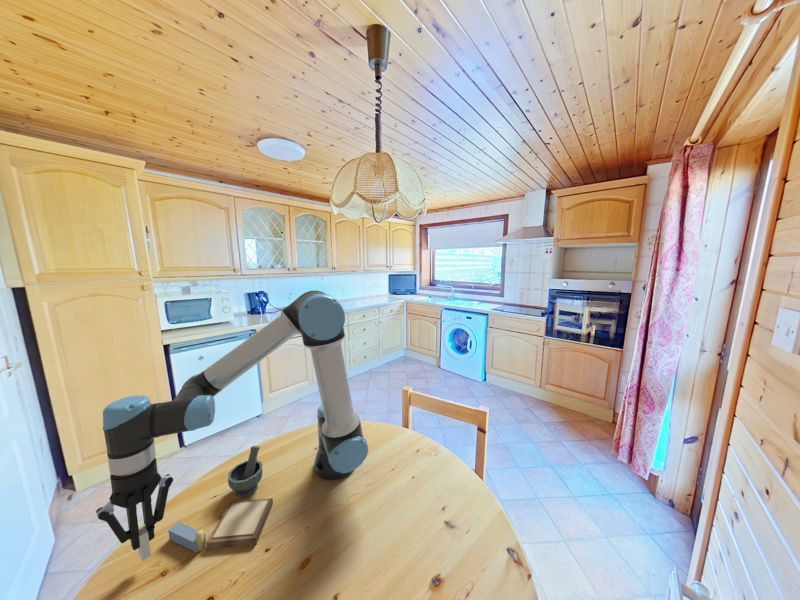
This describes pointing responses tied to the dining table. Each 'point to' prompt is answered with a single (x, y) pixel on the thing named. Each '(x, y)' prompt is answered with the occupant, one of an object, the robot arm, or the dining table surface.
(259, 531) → the stand
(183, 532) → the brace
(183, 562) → the dining table surface
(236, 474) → the mortar and pestle
